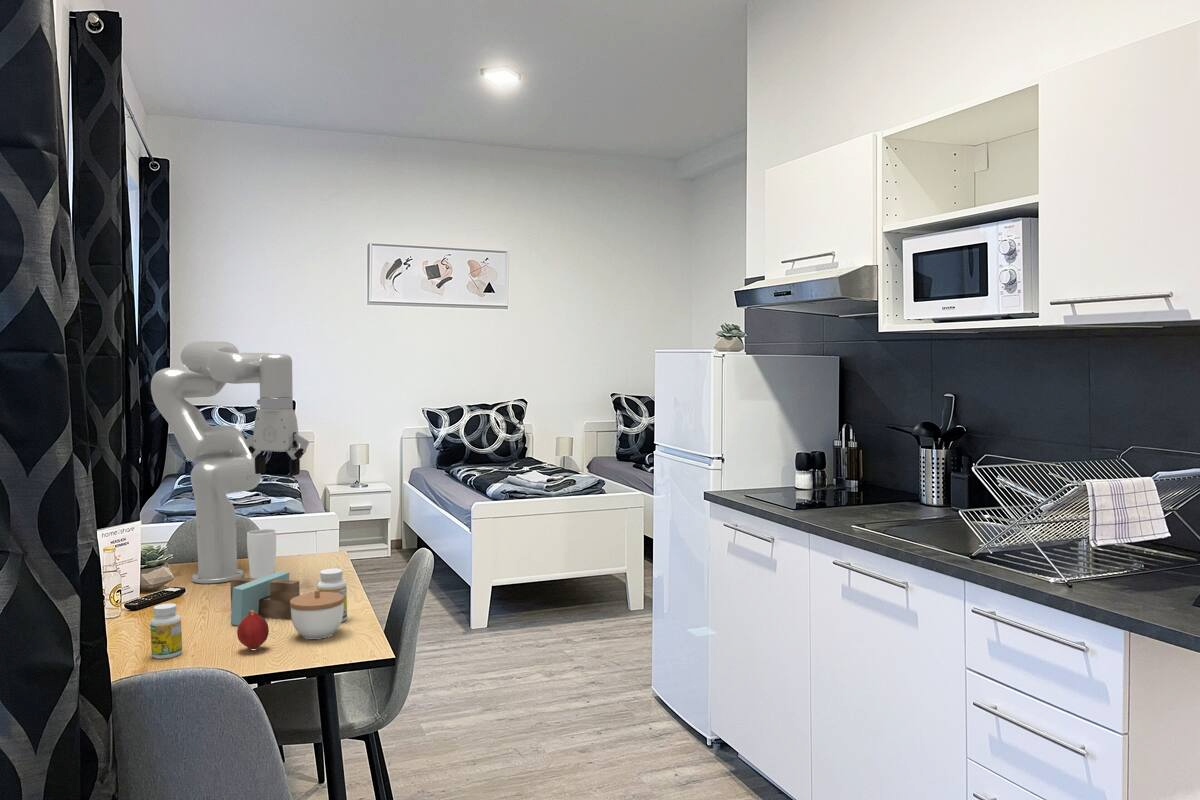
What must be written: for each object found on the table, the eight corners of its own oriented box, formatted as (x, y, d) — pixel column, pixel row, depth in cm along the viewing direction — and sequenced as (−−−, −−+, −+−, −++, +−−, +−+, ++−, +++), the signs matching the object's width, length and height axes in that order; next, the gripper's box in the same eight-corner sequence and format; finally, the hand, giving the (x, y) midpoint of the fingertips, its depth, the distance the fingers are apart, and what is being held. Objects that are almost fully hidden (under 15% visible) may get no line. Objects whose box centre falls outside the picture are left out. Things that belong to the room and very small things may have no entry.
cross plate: (240, 626, 190) (242, 589, 189) (230, 624, 190) (232, 587, 190) (287, 606, 205) (289, 572, 204) (278, 604, 206) (280, 570, 205)
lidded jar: (299, 628, 188) (297, 584, 187) (350, 626, 188) (349, 583, 188) (284, 644, 177) (282, 598, 176) (338, 642, 177) (337, 596, 177)
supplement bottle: (188, 651, 173) (186, 603, 173) (167, 660, 168) (165, 610, 167) (166, 649, 175) (164, 601, 174) (144, 658, 169) (143, 608, 169)
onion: (243, 645, 176) (242, 606, 176) (272, 644, 177) (271, 605, 176) (233, 655, 170) (232, 614, 170) (264, 654, 171) (263, 613, 170)
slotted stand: (231, 615, 198) (230, 579, 198) (238, 612, 201) (237, 577, 200) (293, 619, 194) (292, 583, 194) (300, 616, 196) (299, 580, 196)
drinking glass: (267, 595, 215) (265, 534, 214) (242, 594, 216) (240, 533, 215) (282, 588, 221) (281, 529, 221) (258, 587, 223) (256, 528, 222)
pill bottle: (319, 617, 195) (318, 568, 195) (348, 615, 196) (347, 566, 196) (316, 625, 189) (314, 574, 189) (346, 623, 190) (344, 573, 190)
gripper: (236, 404, 214) (237, 474, 215) (297, 406, 209) (298, 477, 210) (256, 402, 221) (257, 470, 222) (316, 404, 216) (317, 473, 217)
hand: (277, 474), depth 216 cm, fingers open, 9 cm apart
